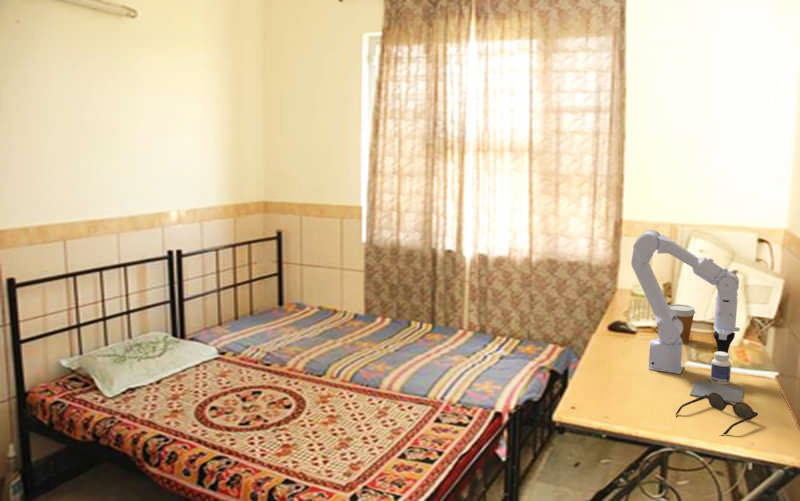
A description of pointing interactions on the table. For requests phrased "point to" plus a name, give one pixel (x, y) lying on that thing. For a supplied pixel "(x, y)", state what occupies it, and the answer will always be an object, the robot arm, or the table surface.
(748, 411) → the eyeglasses
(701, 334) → the table surface
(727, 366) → the pill bottle
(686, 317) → the disposable coffee cup
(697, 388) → the desk mat
